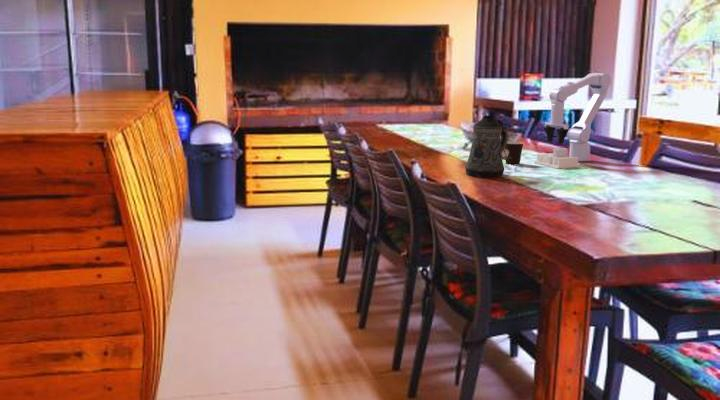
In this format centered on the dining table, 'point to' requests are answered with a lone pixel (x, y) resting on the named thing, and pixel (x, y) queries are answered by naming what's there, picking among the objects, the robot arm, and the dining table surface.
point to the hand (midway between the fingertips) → (555, 142)
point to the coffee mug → (513, 152)
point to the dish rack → (557, 161)
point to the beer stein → (487, 149)
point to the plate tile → (560, 152)
